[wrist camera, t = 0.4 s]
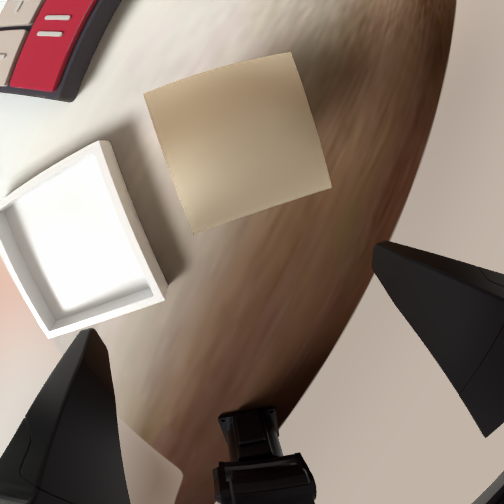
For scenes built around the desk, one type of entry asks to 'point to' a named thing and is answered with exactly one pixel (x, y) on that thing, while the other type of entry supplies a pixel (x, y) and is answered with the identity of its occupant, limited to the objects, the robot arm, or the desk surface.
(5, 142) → the desk surface
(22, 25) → the calculator
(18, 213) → the white tray
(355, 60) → the desk surface
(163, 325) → the desk surface
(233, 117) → the birch block
